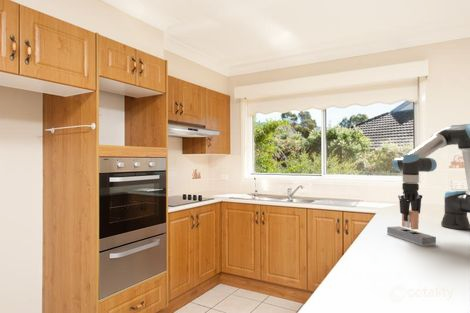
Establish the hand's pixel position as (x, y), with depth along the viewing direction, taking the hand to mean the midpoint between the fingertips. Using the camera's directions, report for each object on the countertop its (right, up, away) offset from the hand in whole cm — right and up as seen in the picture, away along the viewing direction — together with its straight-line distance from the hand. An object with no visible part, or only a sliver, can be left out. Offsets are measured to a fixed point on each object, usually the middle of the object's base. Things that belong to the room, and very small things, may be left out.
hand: (410, 227), depth 163 cm
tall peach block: (0, 0, 0) cm, 0 cm away
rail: (0, -6, 0) cm, 6 cm away
